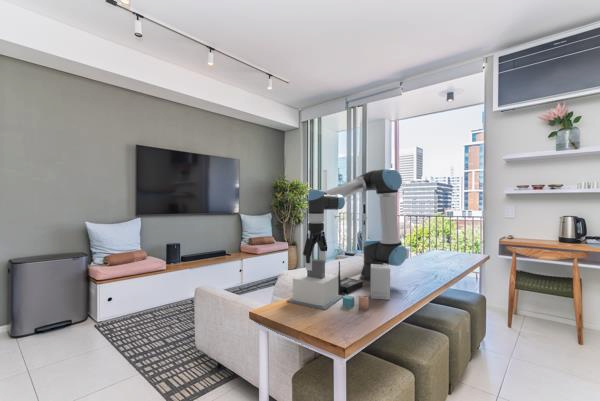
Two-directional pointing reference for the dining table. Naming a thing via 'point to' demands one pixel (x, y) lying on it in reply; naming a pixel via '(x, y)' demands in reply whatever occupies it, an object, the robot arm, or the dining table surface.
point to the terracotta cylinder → (363, 303)
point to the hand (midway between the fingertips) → (315, 267)
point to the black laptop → (348, 284)
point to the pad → (317, 305)
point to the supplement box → (380, 281)
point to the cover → (315, 285)
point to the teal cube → (348, 301)
